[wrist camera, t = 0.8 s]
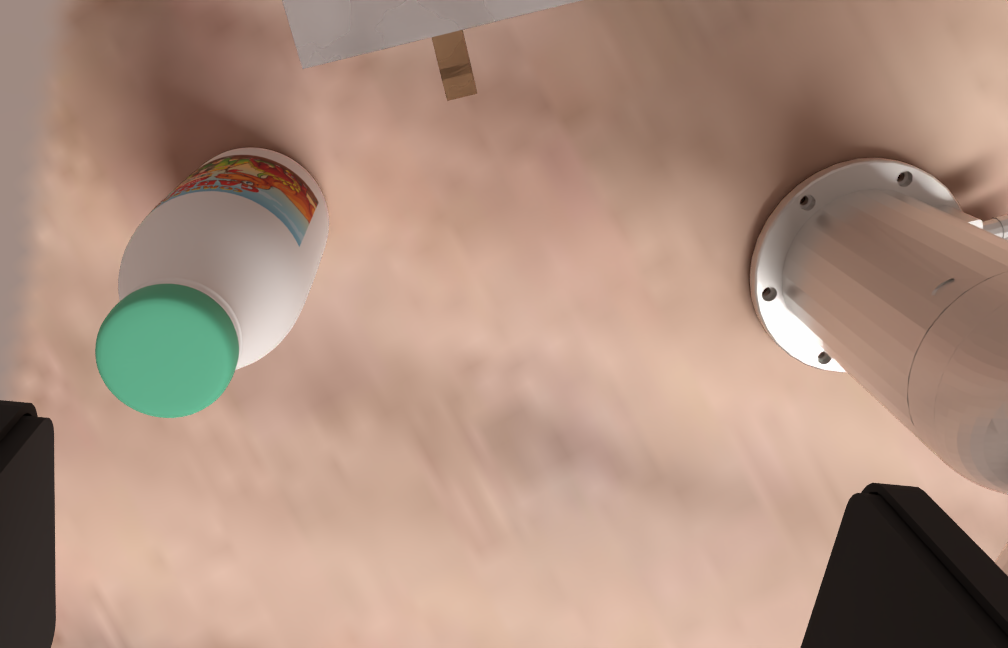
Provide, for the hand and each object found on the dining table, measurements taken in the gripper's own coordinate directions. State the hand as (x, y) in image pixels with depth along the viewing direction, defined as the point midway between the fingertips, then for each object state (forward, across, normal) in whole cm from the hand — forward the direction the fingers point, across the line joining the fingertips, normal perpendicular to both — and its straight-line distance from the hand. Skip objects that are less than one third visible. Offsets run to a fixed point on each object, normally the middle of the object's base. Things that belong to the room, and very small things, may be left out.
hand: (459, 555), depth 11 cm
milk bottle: (+41, +8, +7) cm, 42 cm away
